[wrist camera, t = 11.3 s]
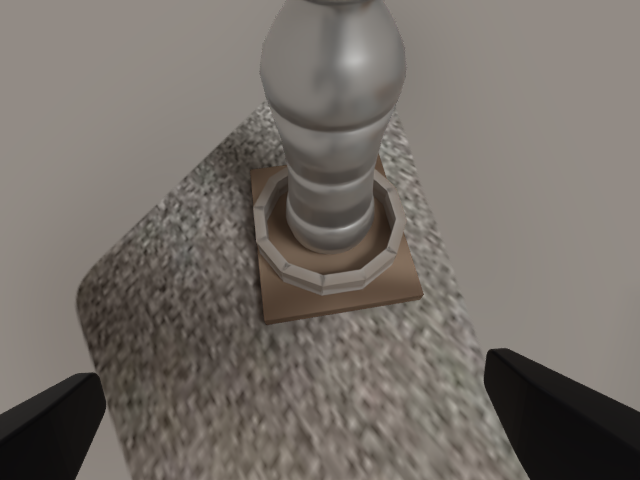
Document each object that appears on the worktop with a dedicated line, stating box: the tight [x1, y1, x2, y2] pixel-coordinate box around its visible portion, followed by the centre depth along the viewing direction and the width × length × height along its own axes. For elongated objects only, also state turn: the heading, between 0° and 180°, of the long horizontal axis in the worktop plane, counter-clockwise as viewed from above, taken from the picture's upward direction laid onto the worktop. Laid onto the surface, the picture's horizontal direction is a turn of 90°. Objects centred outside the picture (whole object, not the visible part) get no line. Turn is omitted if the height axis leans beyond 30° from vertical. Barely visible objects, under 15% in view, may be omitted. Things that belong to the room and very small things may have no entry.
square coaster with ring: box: [250, 153, 424, 325], centre depth 28 cm, size 14×12×3 cm
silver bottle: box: [260, 0, 406, 254], centre depth 20 cm, size 6×7×20 cm
